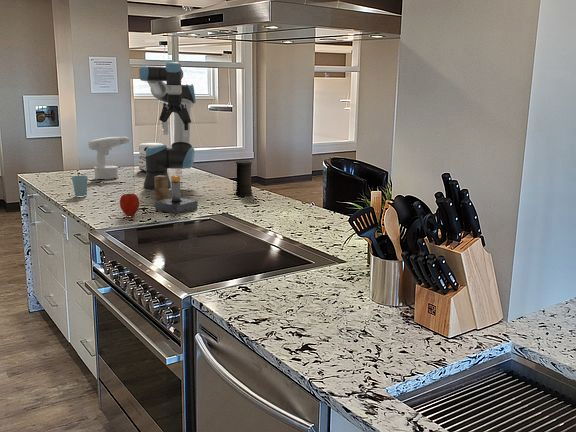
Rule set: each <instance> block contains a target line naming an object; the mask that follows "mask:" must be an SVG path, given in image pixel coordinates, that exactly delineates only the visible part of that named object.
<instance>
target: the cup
mask: <svg viewBox="0 0 576 432" xmlns="http://www.w3.org/2000/svg"><path fill="white" fill-rule="evenodd" d="M88 178H89V176H87V175H74V176H72V177H71V181H72V184H73V185H72V186H73V191H74V196H75V197H76V196H84V195H88Z"/></svg>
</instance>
